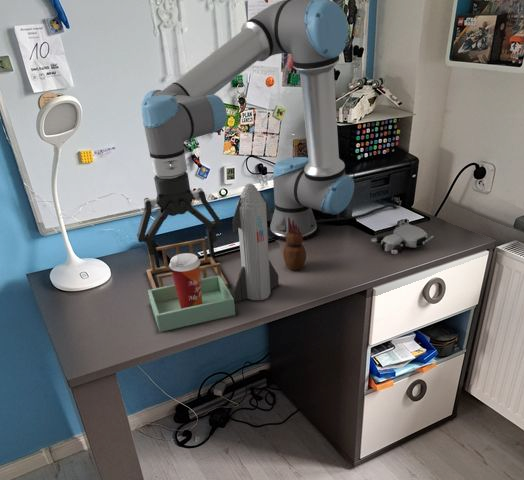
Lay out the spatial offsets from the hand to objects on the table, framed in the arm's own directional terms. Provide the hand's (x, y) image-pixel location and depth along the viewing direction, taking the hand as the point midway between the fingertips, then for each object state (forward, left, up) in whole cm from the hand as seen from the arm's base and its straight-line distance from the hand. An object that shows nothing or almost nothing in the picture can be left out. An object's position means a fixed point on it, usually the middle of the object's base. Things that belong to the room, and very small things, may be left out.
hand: (185, 259), depth 129 cm
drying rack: (-2, -16, -15) cm, 22 cm away
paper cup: (0, 0, -14) cm, 14 cm away
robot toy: (-67, -9, -15) cm, 69 cm away
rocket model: (-18, -1, -15) cm, 23 cm away
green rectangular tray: (0, 0, -15) cm, 15 cm away
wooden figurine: (-33, -10, -15) cm, 37 cm away
